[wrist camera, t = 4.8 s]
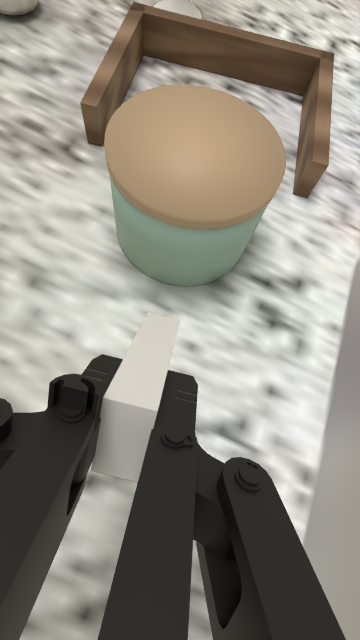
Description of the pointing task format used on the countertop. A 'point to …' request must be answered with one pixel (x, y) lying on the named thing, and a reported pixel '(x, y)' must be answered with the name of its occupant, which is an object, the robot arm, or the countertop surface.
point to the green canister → (190, 180)
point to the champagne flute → (179, 7)
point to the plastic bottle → (17, 6)
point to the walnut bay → (222, 58)
